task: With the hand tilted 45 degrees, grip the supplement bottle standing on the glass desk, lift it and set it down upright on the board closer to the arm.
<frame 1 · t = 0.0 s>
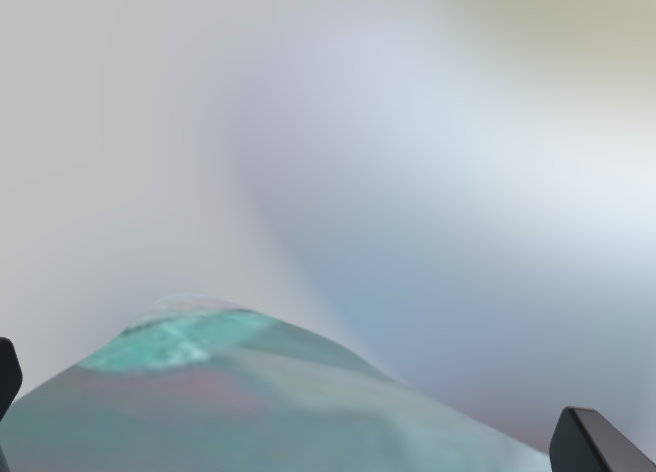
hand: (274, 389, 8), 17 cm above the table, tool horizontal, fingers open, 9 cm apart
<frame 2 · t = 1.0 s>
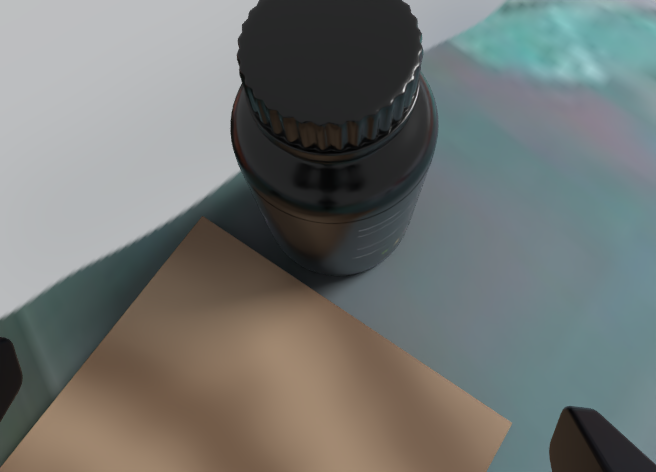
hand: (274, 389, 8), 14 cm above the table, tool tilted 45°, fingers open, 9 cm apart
supplement bottle: (339, 213, 24), on the table
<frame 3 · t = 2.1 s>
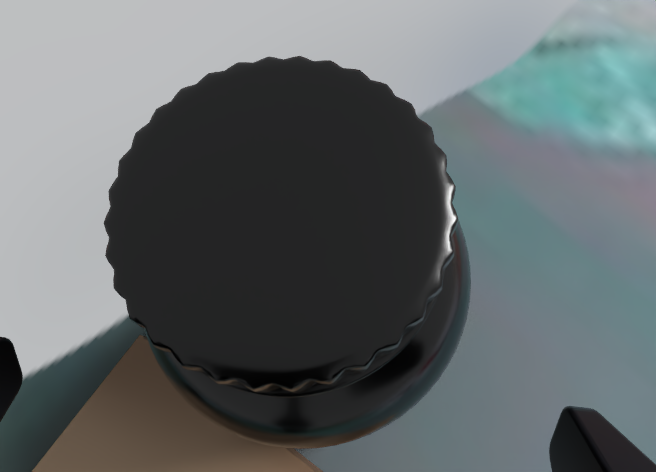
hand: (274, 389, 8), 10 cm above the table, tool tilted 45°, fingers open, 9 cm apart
supplement bottle: (324, 326, 18), on the table
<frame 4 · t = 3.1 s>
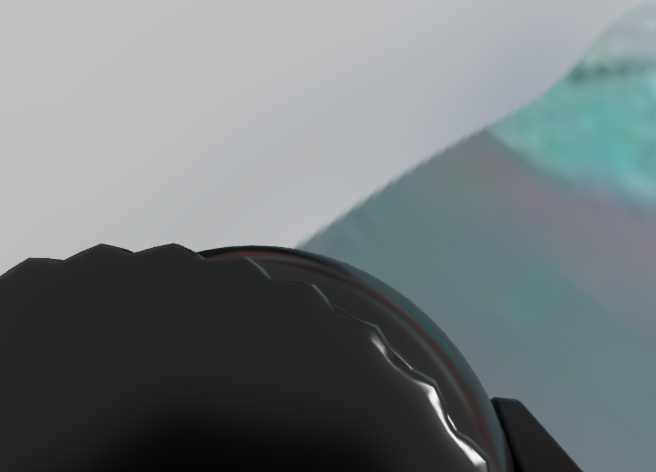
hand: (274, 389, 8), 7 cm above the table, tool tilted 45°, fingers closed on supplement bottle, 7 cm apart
supplement bottle: (304, 442, 14), on the table, touching gripper
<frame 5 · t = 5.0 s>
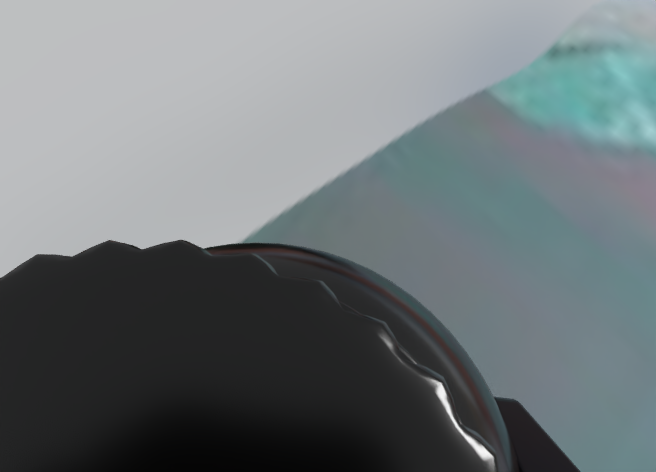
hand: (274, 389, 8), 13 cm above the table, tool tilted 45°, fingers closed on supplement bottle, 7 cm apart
supplement bottle: (306, 439, 14), point 6 cm above the table, touching gripper
when the fingers open (9 cm above the table, at t = 6.6 s): supplement bottle drops 1 cm, resting on board.
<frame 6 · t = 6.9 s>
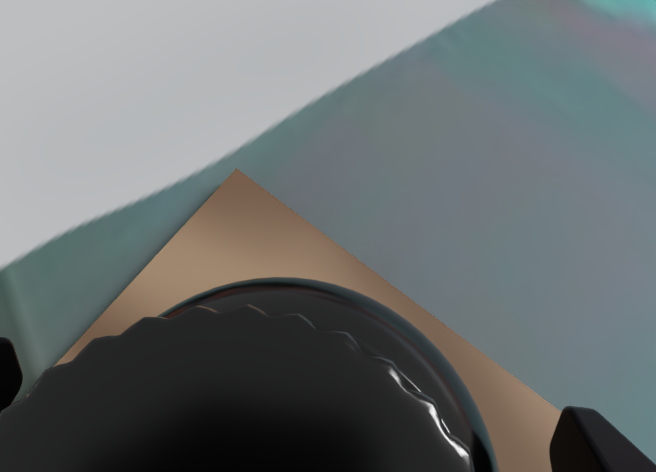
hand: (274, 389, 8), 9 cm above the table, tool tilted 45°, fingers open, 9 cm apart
supplement bottle: (310, 440, 15), point 1 cm above the table, touching board
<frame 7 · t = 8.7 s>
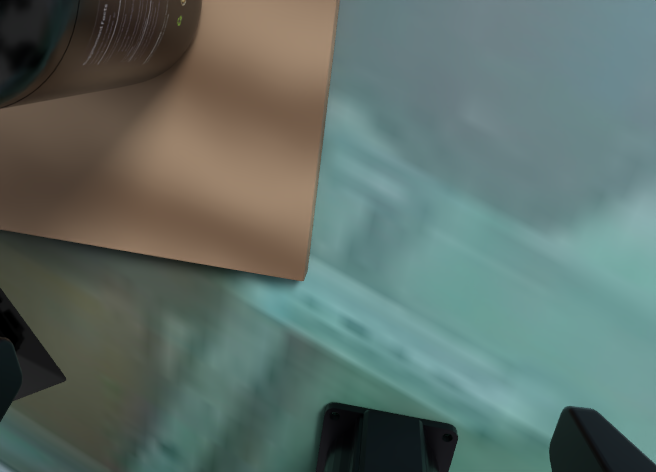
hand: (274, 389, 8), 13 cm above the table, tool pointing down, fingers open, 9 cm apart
board: (131, 58, 19), on the table
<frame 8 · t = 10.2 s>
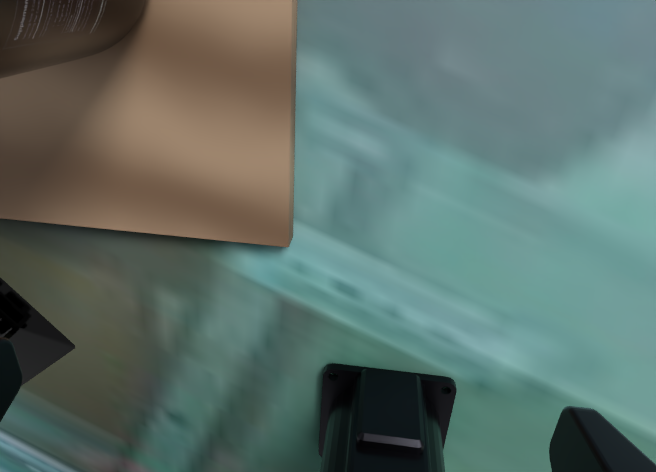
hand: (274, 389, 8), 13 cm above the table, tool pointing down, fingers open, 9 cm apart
board: (87, 28, 18), on the table
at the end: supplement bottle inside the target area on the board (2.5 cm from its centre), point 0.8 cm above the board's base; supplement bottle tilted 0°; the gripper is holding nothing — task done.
